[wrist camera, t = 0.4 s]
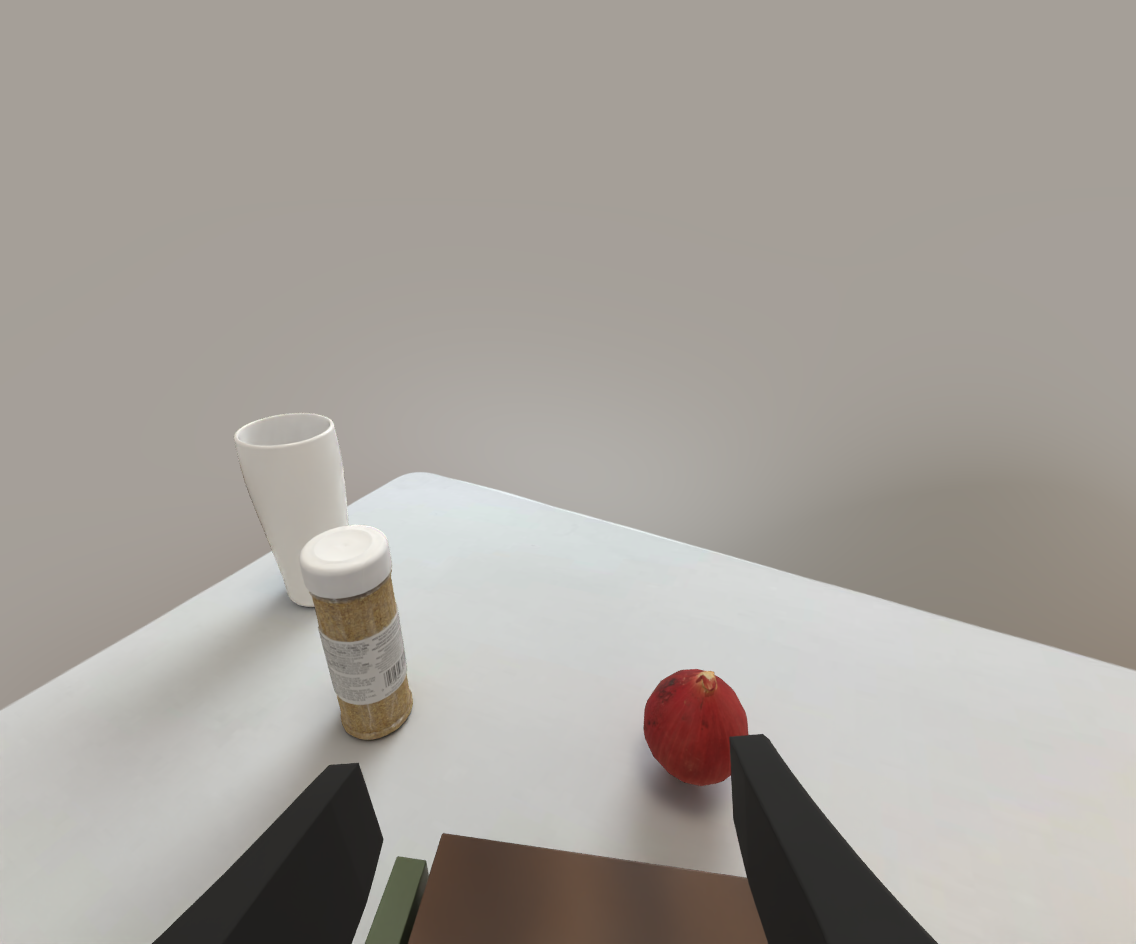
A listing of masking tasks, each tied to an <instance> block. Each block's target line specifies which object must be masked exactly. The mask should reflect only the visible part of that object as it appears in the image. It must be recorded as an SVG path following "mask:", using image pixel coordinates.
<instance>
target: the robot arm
mask: <svg viewBox="0 0 1136 944" xmlns="http://www.w3.org/2000/svg"><path fill="white" fill-rule="evenodd" d="M729 741H730V761H731V781H732V801H733V819H734V824H735V828H736V832H737V837H738V841H739V845H740V850H741V854H742V858H743V862H744V866H745V871H746V875H747V879H748V883H749V886H750V890H751V893H752V896H753V899H754V902H755V905H756V908H757V911H758V914H759V917H760V920H761V923H762V926H763V929H764V933H765V936H766V939H767V942H768V944H938V943H937V942H936V941H935V940H934V939H933V938H932V937H931V936H930V935H929V934H928V933H927V932H926V931H925V929H924V928H923V927H922V926H921V925H920V924H919V923H918V922H917V921H916V920H915V919H914V918H913V917H912V916H911V914H910V913H909V912H908V911H907V910H906V909H905V908H904V907H903V906H902V905H901V904H900V902H899V901H898V900H897V899H896V898H895V897H894V896H893V895H892V894H891V892H890V891H889V890H888V889H887V888H886V887H885V886H884V885H883V884H882V882H881V881H880V880H879V879H878V878H877V877H876V876H875V875H874V873H873V872H872V871H871V870H870V869H869V868H868V866H867V865H866V864H865V863H864V862H863V861H862V860H861V858H860V857H859V856H858V855H857V854H856V852H855V851H854V850H853V849H852V848H851V846H850V845H849V844H848V843H847V842H846V840H845V839H844V838H843V837H842V836H841V834H840V833H839V832H838V831H837V830H836V828H835V827H834V826H833V825H832V823H831V822H830V821H829V820H828V819H827V817H826V816H825V815H824V814H823V812H822V811H821V810H820V809H819V807H818V806H817V805H816V803H815V802H814V801H813V800H812V798H811V797H810V796H809V794H808V793H807V792H806V790H805V789H804V788H803V786H802V785H801V784H800V783H799V781H798V780H797V778H796V777H795V776H794V774H793V773H792V772H791V770H790V769H789V768H788V766H787V765H786V763H785V762H784V761H783V759H782V758H781V756H780V755H779V753H778V752H777V750H776V749H775V747H774V746H773V744H772V743H771V741H770V740H769V739H768V738H767V737H766V736H764V735H763V734H758V735H744V736H730V737H729ZM382 843H383V836H382V833H381V830H380V827H379V824H378V821H377V818H376V815H375V812H374V809H373V806H372V803H371V799H370V796H369V793H368V790H367V787H366V784H365V781H364V778H363V775H362V772H361V769H360V766H359V763H351V764H337V765H329V766H328V767H327V768H326V769H325V770H324V771H323V772H322V773H321V774H320V775H319V776H318V777H317V778H316V779H315V780H314V781H313V782H312V783H311V784H310V785H309V786H308V787H307V788H306V789H305V790H304V791H303V792H302V793H301V794H300V795H299V797H298V798H297V799H296V800H295V801H294V802H293V803H292V804H291V805H290V806H289V807H288V808H287V809H286V810H285V811H284V812H283V813H282V814H281V815H280V816H279V818H278V819H277V820H276V821H275V822H274V823H273V824H272V825H271V826H270V827H269V828H268V829H267V830H266V831H265V832H264V833H263V834H262V835H261V836H260V837H259V838H258V839H257V840H256V841H255V842H254V843H253V845H252V846H251V847H250V848H249V849H248V850H247V851H246V852H245V853H244V854H243V855H242V856H241V857H240V858H239V859H238V860H237V861H236V862H235V863H234V864H233V865H232V866H231V867H230V868H229V869H228V870H227V871H226V872H225V873H224V874H223V875H222V876H221V877H220V878H219V879H218V880H217V881H216V882H215V883H214V884H213V885H212V886H211V887H210V888H209V889H208V890H207V891H206V892H205V893H204V894H203V895H202V896H201V897H200V898H199V899H198V900H197V901H196V902H195V903H194V904H193V905H191V906H190V907H189V908H188V909H187V910H186V911H185V912H184V913H183V914H182V915H181V916H180V917H179V918H178V919H177V920H176V921H175V922H174V923H173V924H172V925H171V926H170V927H169V928H168V929H167V930H166V931H165V932H164V933H163V934H162V935H161V936H160V937H158V938H157V939H156V940H155V941H154V942H153V943H152V944H352V941H353V938H354V936H355V933H356V930H357V928H358V925H359V922H360V920H361V917H362V914H363V911H364V909H365V906H366V903H367V900H368V896H369V893H370V889H371V885H372V882H373V878H374V875H375V871H376V867H377V863H378V859H379V855H380V851H381V847H382Z"/></svg>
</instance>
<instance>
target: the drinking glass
mask: <svg viewBox="0 0 1136 944" xmlns="http://www.w3.org/2000/svg"><path fill="white" fill-rule="evenodd" d="M234 441H235V446H236V450H237V455H238V459H239V463H240V467H241V471H242V474H243V478H244V481H245V483H246V487H247V490H248V492H249V495H250V498H251V500H252V503H253V505H254V508H255V510H256V513H257V515H258V518H259V520H260V522H261V525H262V527H263V529H264V532H265V535H266V537H267V539H268V542H269V544H270V547H271V549H272V552H273V554H274V557H275V559H276V562H277V564H278V567H279V569H280V572H281V574H282V577H283V580H284V584H285V587H286V591H287V594H288V596H289V598H290V599H291V600H292V601H293V602H294V603H296V604H298V605H301V606H305V607H314V603H313V600H312V596H311V595H310V593H309V590H308V589H307V588H306V586H305V583H304V580H303V576H302V571H301V567H300V562H299V556H300V553H301V551H302V549H303V547H304V546H305V545H306V544H307V543H308V542H309V541H310V540H311V539H313V538H314V537H315V536H317V535H319V534H321V533H323V532H325V531H328V530H330V529H334V528H337V527H342V526H348V525H349V523H348V512H347V499H346V487H345V477H344V469H343V463H342V458H341V452H340V447H339V442H338V438H337V434H336V430H335V426H334V423H333V421H332V420H331V419H330V418H328V417H325V416H323V415H319V414H311V413H291V414H282V415H276V416H270V417H266V418H262V419H259V420H256V421H253V422H251V423H249V424H247V425H245V426H243V427H241V428H240V429H239V430H238V431H237V432H236V433H235V435H234Z"/></svg>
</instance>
